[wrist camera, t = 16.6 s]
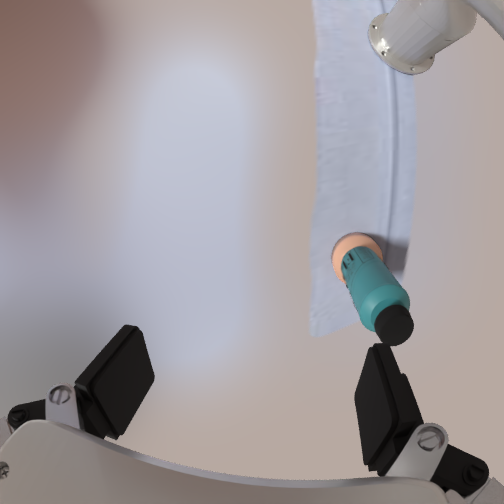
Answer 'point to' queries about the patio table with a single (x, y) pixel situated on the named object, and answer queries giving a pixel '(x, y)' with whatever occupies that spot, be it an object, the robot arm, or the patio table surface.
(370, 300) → the beverage bottle
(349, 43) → the patio table surface
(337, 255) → the tan rounded flat piece
